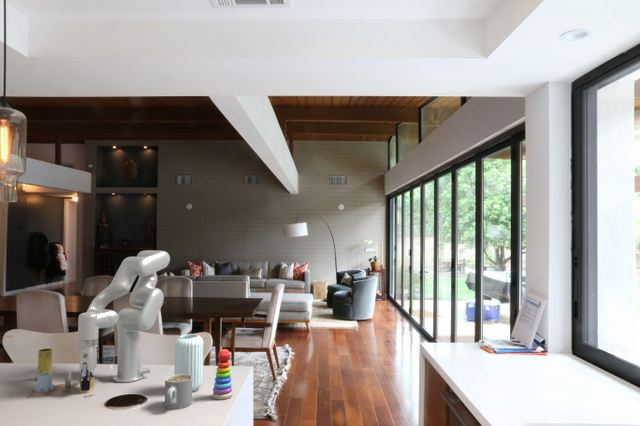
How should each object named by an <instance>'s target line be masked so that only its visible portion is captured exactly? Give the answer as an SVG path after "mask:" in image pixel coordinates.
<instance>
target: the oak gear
mask: <svg viewBox="0 0 640 426" xmlns="http://www.w3.org/2000/svg"><path fill="white" fill-rule="evenodd" d="M89 380H90V390H86V391H81V379H80V380H79V393H81V394H86V393H88V394H89V393H91V392H93V391H94V390H95V377H93V378H92V377H90V378H89ZM92 396H94V394H91V395H89V397H92ZM84 398H88V395H87V396H86V395H85V396H84Z"/></svg>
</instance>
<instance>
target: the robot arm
mask: <svg viewBox="0 0 640 426" xmlns="http://www.w3.org/2000/svg"><path fill="white" fill-rule="evenodd" d="M170 261H171V256H170V254H169V253H168V252H167V251H165V250H155V249H154V250H152V249H151V250H149V249H148V250H142V251H139V252H138V254H137V255H136V256H128V257H125V258H124V259H123V260H122V262H121V264H120V266H119V268H118V269H117V271H116V273H115V274H114V277H113V279H112V280H111V283H110V284H109V285H108V286H107V287H105V288H104V289H103V290H101V292H99V293H98V294H97V295H96V296H95V297H94V298H93V300H92V301H91V303H90V304H89V306H88V308H87V310H86V312H83V313H82V312H81V313H80V314H79V315H78V320H77V321H78V322H77V323H78V327H77V328H78V329H77V349H79V350H80V353H79V373H80V374H81V379H80V380H81V391H86V390H90V380H89V378H90V377H92V378H94V375H93V374H94V371H95V370H96V368H97V366H98V365H97V357H98V356H97V347H99V329H109V328H112V327H114V326H115V325H116V329H117V363H116V364H117V372H116V374H115V375H114V376H113V379H112V380H113V381H114V382H116V383H131V382H137V381H139V380H141V379H143V378H144V374H145V375H147V374H151V368H148V367H146V368H143V367H142V365H141V341H142V340H141V339H142V338H141V334H140V332H141V331H142V332H146V331H149V330H150V329H151V328H152V327H153V325H154V324H155V322H156V321H157V317H158V315H159V313H160V310H161V309H162V306H163V304H164V299H165V298H164V296H165V295H164V293H163V291H162V290H161V289H160V288H158V287H156V286H157V283H158V275H157V272H159V271H161V270H163V269H165V268H167V267H168V266H169V264H170ZM137 276H138V279H137V282H136V283H135V285H134V282H135V281H136V278H137ZM133 285H134V287H133V290H132V292H131V294H130V296H129V299H128V300H129V305H131V306H133V307H125V308H123V309H121V310H120V311H119V312H118V313H117V311H115V310H113V309H108V308H107V306H108V304H110V303H111V302H113V301H114V300H115V299H116V300H117V299H119V298H121V297H123V296H125V295H127V294H128V293H129V292H130V291H131V288H132V286H133ZM135 307H136V308H135ZM106 308H107V309H106Z"/></svg>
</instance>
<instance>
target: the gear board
mask: <svg viewBox="0 0 640 426" xmlns="http://www.w3.org/2000/svg"><path fill="white" fill-rule="evenodd" d="M45 375H48V374H42V376H45ZM54 385H55V387H54V389H52V390H48V391H45V392H43V391H42V392H36V391H34V389H33V390H32V391H31V392H30V393H29V394H28V395H27V396H26V398H28V399H29V398H37V397H38V398H39V397H40V398H41V397H49V396H59V395H60V396H62V395H72V394H73V392H75V390H76V389H77V387H78V386H79V385H80V382H72V372H71V371H66V372H65V373H64V383H60V384H54Z"/></svg>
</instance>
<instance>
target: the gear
mask: <svg viewBox="0 0 640 426" xmlns="http://www.w3.org/2000/svg"><path fill="white" fill-rule="evenodd" d="M42 374H48V375H45V376H42ZM55 385H56V384H54V383H53V372H52V373H41V374H39V375H37V376H36V385H35V387H34V388H33V390H34V391H36V392H42V391H43V392H45V391H48V390H52V389H54V387H55Z"/></svg>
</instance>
